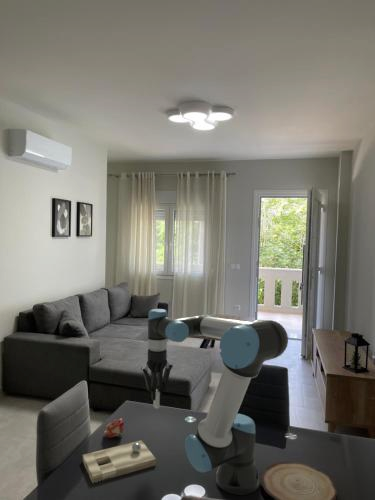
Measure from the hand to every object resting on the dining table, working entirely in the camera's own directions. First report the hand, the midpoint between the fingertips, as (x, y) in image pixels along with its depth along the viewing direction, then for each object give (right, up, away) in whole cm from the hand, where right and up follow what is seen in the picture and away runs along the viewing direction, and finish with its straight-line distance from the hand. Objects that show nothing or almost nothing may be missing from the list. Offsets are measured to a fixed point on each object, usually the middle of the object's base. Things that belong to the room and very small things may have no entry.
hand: (156, 407), depth 157 cm
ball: (-7, -14, -3) cm, 17 cm away
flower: (-19, -18, +12) cm, 29 cm away
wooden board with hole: (-14, -19, -7) cm, 24 cm away
